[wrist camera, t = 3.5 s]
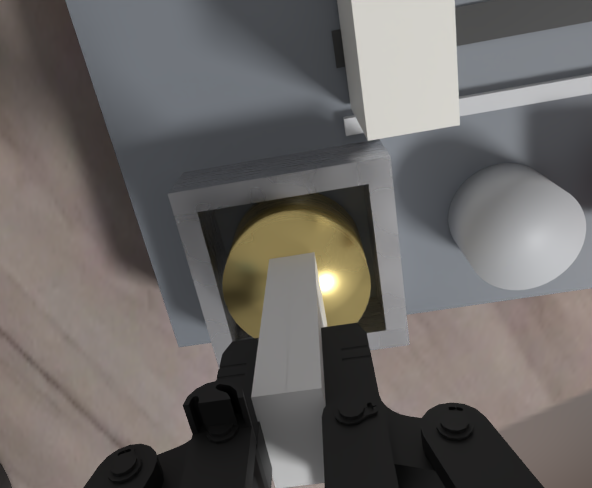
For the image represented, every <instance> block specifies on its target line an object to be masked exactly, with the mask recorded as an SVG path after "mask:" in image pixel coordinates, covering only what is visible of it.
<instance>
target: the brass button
mask: <svg viewBox="0 0 592 488" xmlns="http://www.w3.org/2000/svg"><path fill="white" fill-rule="evenodd" d="M312 252H314V253H315V258H316V264H317V269H318V275H319V281H320V286H321V292H322V297H323V303H324V309H325V314H326V320H327V327H329V326H336V325H343V324H350V323H357V322H358V321H359V320H360V318H361V317H362V315H363V313H364V311H365V309H366V307H367V304H368V301H369V297H370V290H371V280H370V274H369V269H368V265H367V261H366V258H365V254H364V250H363V246H362V242H361V239H360V235H359V232H358V229H357V226H356V224H355V223H354V221H353V219H352V218H351V216H350V215H349V213H348V212H347V211H346V210H345V209H344V208H343V207H342V206H341V205H339V204H338V203H337V202H335V201H334V200H332V199H330V198H329V197H327V196H324V195H322V194H319V193H311V194H305V195H299V196H293V197H287V198H281V199H274V200H268V201H262V202H257V203H256V204H254V205H253V206H252V207H251V208H250V209H249V210H248V211H247V212H246V214H245V215H244V216H243V217H242V219H241V221H240V222H239V224H238V227H237V229H236V232H235V235H234V239H233V242H232V245H231V249H230V252H229V256H228V259H227V262H226V266H225V270H224V273H223V281H222V287H223V296H224V300H225V303H226V306H227V308H228V310H229V312H230V314H231V316H232V317H233V319H234V320H235V322H236V323H237V324H238V325H239V326H240V327H241V328H242V329H243V330H244V331H245V332H246V333H248V334H249V335H250V336H252V337H253V338H259V334H260V326H261V318H262V311H263V303H264V296H265V288H266V280H267V273H268V265H269V259H273V258H280V257H286V256H293V255H299V254H306V253H312Z"/></svg>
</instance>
